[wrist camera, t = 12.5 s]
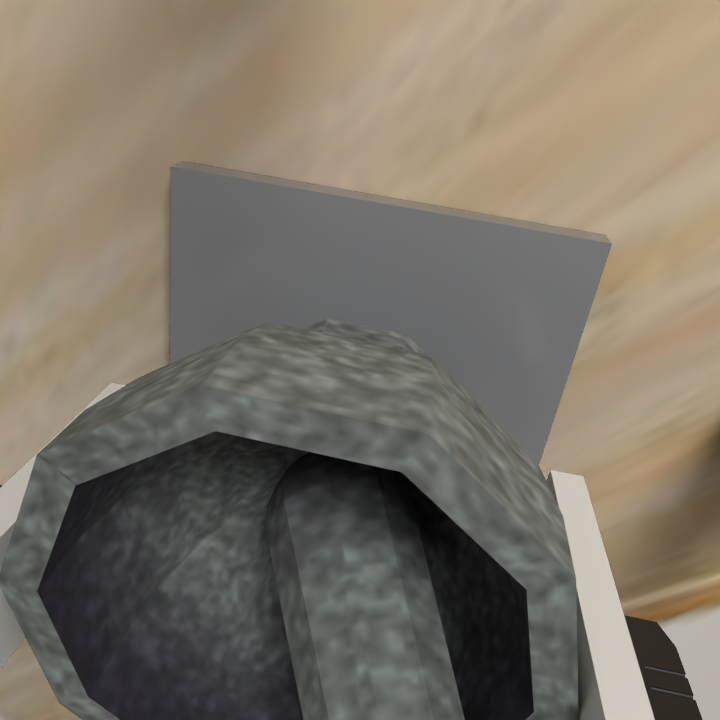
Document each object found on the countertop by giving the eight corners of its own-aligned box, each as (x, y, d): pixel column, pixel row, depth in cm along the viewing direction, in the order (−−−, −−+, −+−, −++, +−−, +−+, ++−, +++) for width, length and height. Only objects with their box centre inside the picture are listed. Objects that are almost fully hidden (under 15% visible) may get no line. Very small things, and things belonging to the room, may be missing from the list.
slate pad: (605, 235, 16) (612, 243, 15) (492, 581, 21) (494, 599, 21) (183, 161, 17) (170, 166, 16) (178, 515, 22) (168, 530, 21)
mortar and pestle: (103, 404, 17) (-477, 965, 7) (338, 158, 14) (-137, 544, 3) (386, 645, 20) (292, 1342, 9) (652, 493, 16) (1030, 1380, 5)
